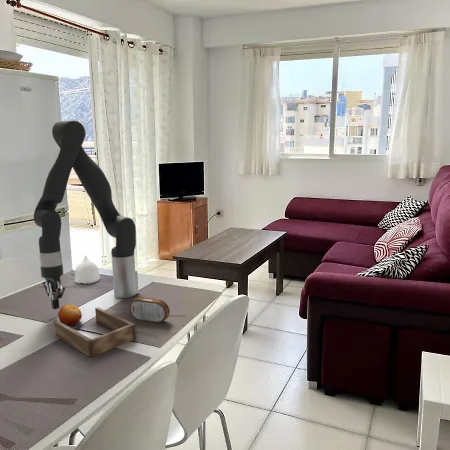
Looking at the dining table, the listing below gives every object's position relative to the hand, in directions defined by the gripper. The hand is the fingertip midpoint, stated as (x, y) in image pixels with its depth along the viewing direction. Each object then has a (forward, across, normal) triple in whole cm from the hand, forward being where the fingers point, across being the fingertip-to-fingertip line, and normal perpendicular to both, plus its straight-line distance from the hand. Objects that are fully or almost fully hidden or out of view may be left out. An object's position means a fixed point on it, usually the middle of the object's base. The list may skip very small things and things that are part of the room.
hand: (55, 308), depth 160 cm
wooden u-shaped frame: (+3, -27, 0) cm, 27 cm away
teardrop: (+3, +29, -30) cm, 42 cm away
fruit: (+3, -11, 0) cm, 11 cm away
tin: (+3, -30, -20) cm, 36 cm away
